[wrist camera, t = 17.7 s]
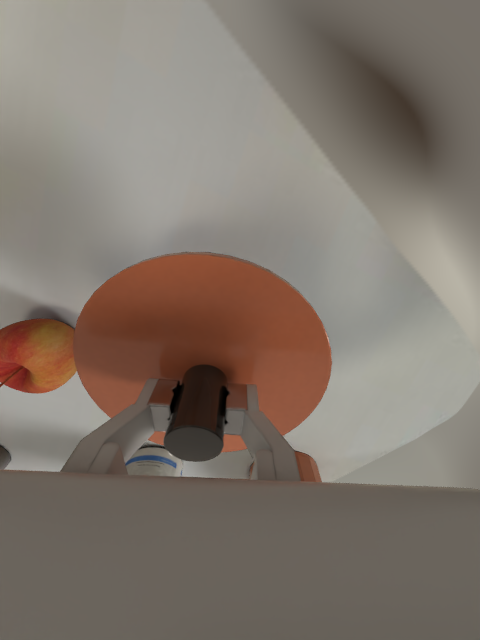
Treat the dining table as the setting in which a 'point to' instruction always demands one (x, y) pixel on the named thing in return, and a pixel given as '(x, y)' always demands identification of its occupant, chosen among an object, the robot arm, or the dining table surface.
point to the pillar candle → (4, 458)
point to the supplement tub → (154, 463)
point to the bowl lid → (202, 346)
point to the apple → (36, 355)
